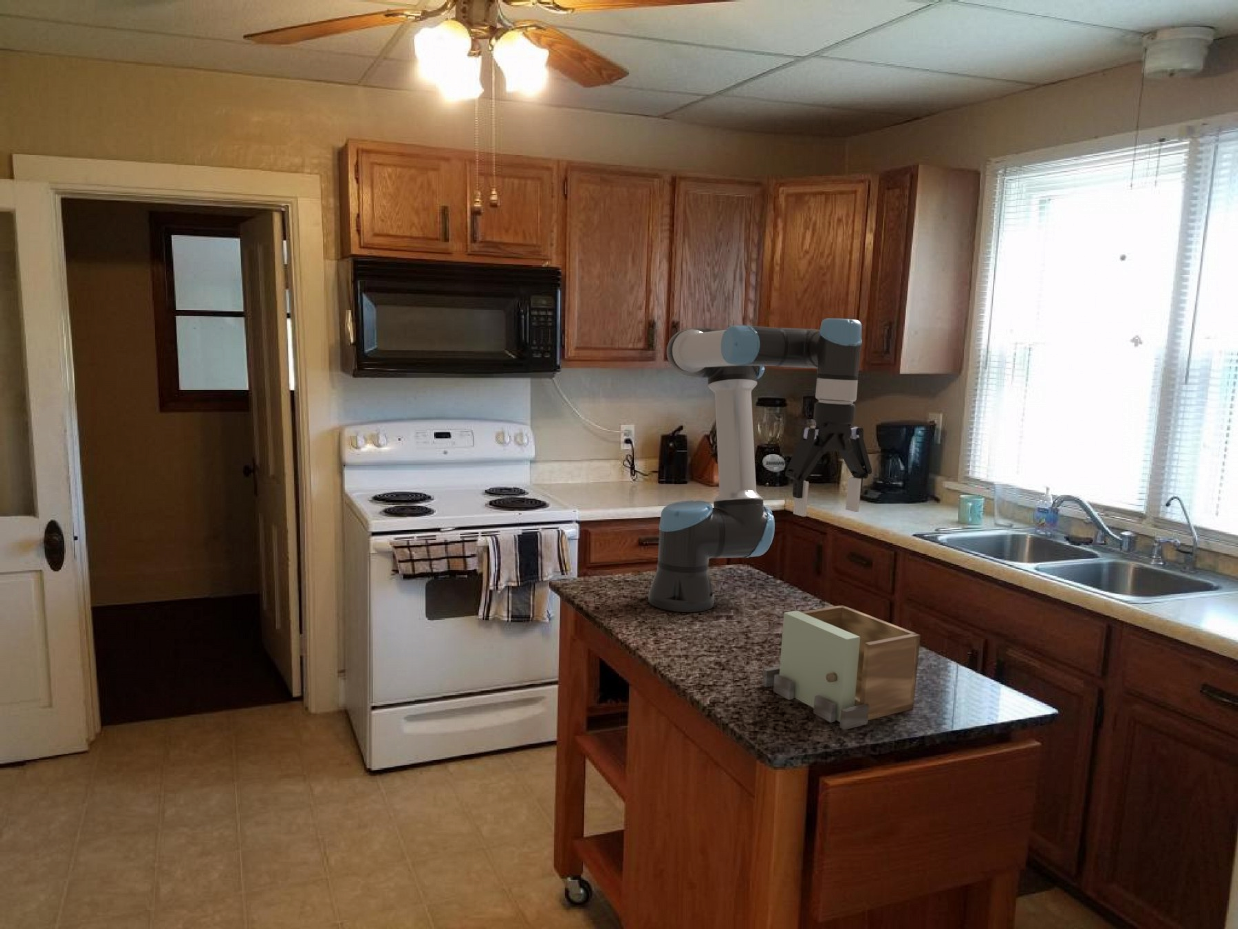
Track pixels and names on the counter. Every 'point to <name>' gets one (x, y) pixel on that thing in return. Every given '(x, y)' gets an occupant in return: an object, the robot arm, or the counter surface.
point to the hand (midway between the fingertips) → (826, 513)
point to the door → (819, 660)
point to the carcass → (866, 668)
